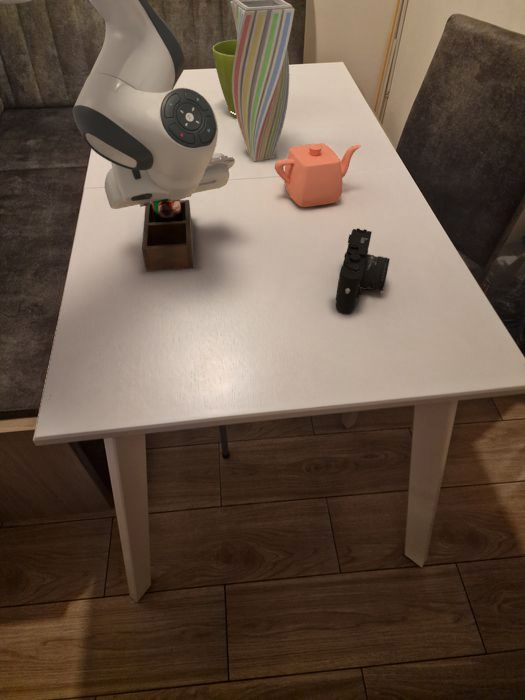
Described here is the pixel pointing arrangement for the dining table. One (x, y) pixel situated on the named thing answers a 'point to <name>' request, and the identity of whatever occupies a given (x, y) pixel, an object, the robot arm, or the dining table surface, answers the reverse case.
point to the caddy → (168, 241)
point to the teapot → (314, 173)
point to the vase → (261, 72)
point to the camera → (359, 271)
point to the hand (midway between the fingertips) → (164, 197)
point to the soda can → (167, 210)
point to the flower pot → (225, 69)
